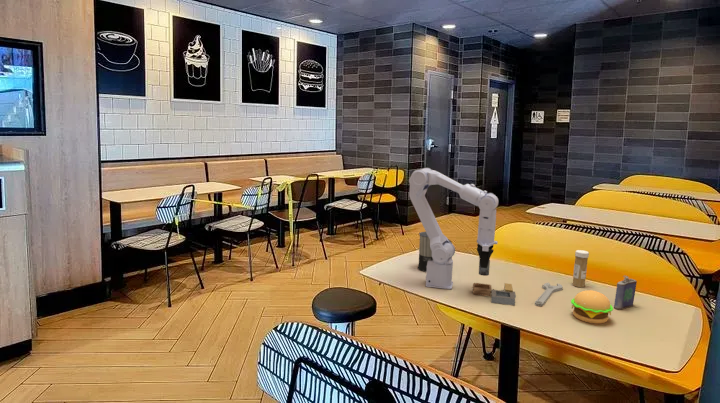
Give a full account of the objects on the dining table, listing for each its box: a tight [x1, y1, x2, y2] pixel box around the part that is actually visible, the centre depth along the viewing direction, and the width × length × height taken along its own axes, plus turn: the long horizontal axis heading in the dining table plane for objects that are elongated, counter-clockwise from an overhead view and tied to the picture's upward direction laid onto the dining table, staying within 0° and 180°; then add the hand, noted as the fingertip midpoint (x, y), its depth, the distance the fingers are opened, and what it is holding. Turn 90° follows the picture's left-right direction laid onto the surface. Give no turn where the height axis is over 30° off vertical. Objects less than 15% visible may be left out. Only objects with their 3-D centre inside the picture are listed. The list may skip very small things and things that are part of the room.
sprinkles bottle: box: [571, 249, 590, 288], centre depth 182 cm, size 5×5×14 cm
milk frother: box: [417, 231, 453, 272], centre depth 200 cm, size 14×16×15 cm
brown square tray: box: [472, 282, 492, 297], centre depth 172 cm, size 6×6×2 cm
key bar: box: [503, 282, 514, 292], centre depth 172 cm, size 2×7×2 cm, turn 166°
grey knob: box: [478, 258, 491, 277], centre depth 171 cm, size 4×4×7 cm
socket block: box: [490, 289, 517, 306], centre depth 167 cm, size 8×11×2 cm
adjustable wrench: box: [534, 282, 563, 308], centre depth 172 cm, size 25×6×2 cm, turn 142°
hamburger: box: [570, 289, 614, 324], centre depth 152 cm, size 12×12×9 cm
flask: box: [613, 275, 638, 310], centre depth 162 cm, size 9×3×11 cm, turn 121°
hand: (483, 265), depth 171 cm, fingers closed on grey knob, 4 cm apart
